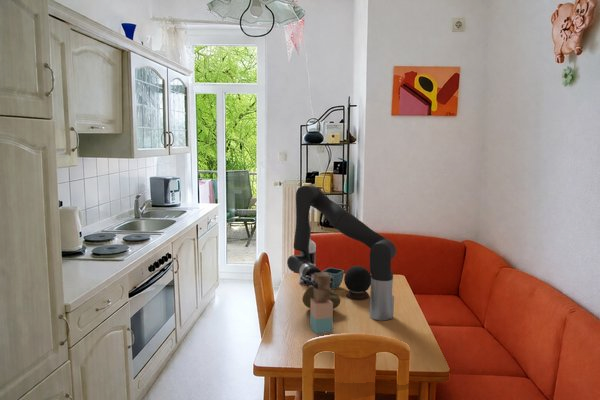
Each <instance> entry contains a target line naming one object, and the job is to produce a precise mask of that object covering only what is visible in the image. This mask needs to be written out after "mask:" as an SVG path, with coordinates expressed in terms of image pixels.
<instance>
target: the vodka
mask: <svg viewBox="0 0 600 400" xmlns="http://www.w3.org/2000/svg"><path fill="white" fill-rule="evenodd" d="M311 235H312V234H311V227H310V241H309V256H310V263H311V264H313V265H315V266H316V251H317V249H316V248H317V244H316V242H315V241H313V240H312V239H311ZM299 255H303V253H302V252H301V251H299ZM316 267H317V266H316ZM300 277H301V275H300V274H299V276H298V282H299V283H300ZM300 284H301V283H300Z"/></svg>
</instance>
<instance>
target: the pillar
mask: <svg viewBox="0 0 600 400" xmlns="http://www.w3.org/2000/svg"><path fill="white" fill-rule="evenodd" d="M314 281H316V282H317V283H318V289H315V288H314V298H315V299H316V300H317V301H326V300H330V290H331V289H330V275H329V274H328V273H326V272H322V271H321V272H319V273H314Z"/></svg>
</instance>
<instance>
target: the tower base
mask: <svg viewBox="0 0 600 400" xmlns="http://www.w3.org/2000/svg"><path fill="white" fill-rule="evenodd" d="M309 315H310V316H309V319H310V320H309V322H310V323H309V327H310V329H311V330H312V332H314V334H315V335H318V334H325V333H326V334H327V333H333V331H334V330H333V325H334V324H333V323H334V321H333V320H334V317H333V318H325V319H315V318H314V317H313V315H312V314H311V313H310V312H309Z"/></svg>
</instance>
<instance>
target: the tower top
mask: <svg viewBox="0 0 600 400" xmlns="http://www.w3.org/2000/svg"><path fill="white" fill-rule="evenodd" d="M309 309H310V312H309V314H310V313H311V314H312V315H313V317H314V318H315V319H325V318H333V319H334V309H333V302H332V301H331V300H326V301H317V300H316V299H315V298H311V305H310V308H309Z"/></svg>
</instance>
